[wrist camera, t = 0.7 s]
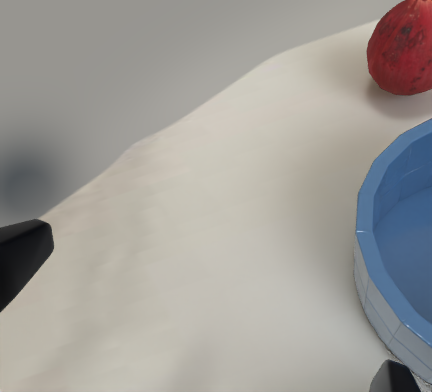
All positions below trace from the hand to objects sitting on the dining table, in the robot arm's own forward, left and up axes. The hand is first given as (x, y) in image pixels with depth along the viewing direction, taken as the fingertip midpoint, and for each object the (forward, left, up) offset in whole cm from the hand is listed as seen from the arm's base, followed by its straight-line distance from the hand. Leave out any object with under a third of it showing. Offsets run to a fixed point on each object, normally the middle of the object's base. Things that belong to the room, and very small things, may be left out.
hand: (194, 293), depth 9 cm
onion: (+18, -12, -14) cm, 25 cm away
